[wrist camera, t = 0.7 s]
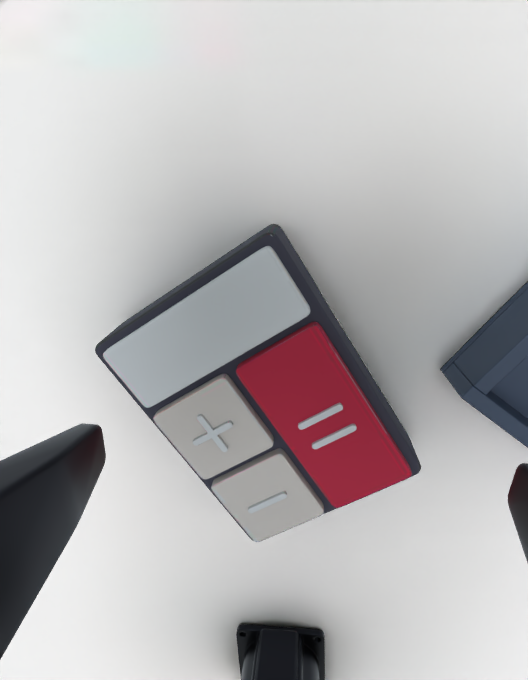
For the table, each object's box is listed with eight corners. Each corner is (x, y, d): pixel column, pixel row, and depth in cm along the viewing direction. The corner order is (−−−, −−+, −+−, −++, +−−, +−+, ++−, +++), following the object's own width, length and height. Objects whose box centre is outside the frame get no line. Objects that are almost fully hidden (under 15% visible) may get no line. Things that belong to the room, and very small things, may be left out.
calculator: (252, 556, 24) (82, 355, 20) (259, 502, 28) (118, 325, 24) (429, 482, 21) (271, 229, 17) (408, 433, 25) (276, 219, 21)
